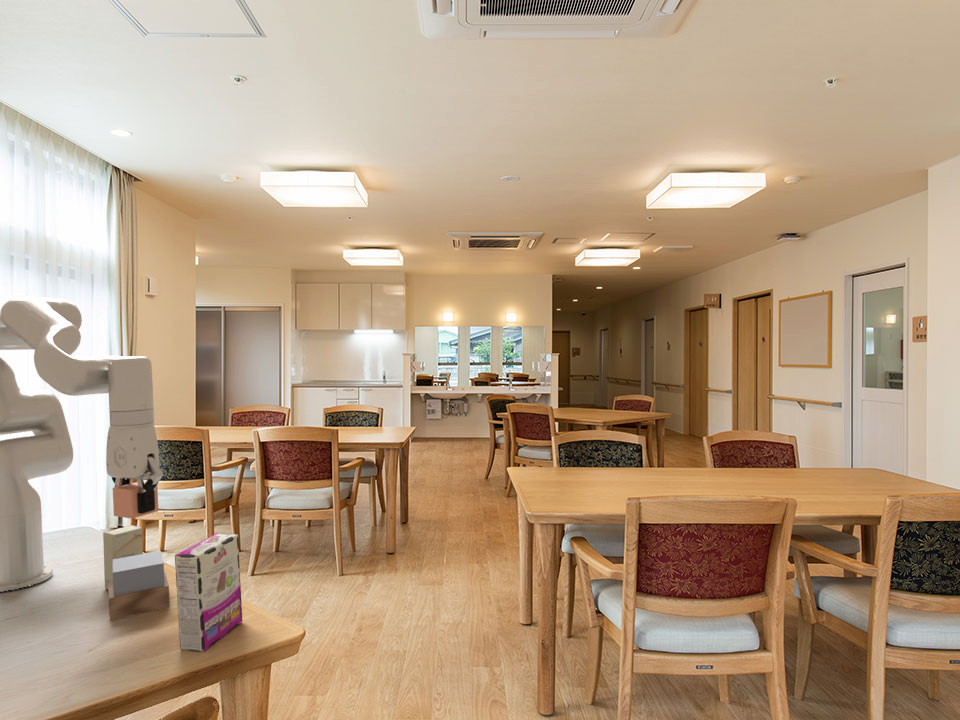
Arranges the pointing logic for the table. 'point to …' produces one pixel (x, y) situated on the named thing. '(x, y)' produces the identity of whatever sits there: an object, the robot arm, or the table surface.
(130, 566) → the slate grey top block
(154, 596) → the walnut base block
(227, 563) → the candy bar box
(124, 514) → the terracotta cube
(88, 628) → the table surface
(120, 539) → the skincare box
